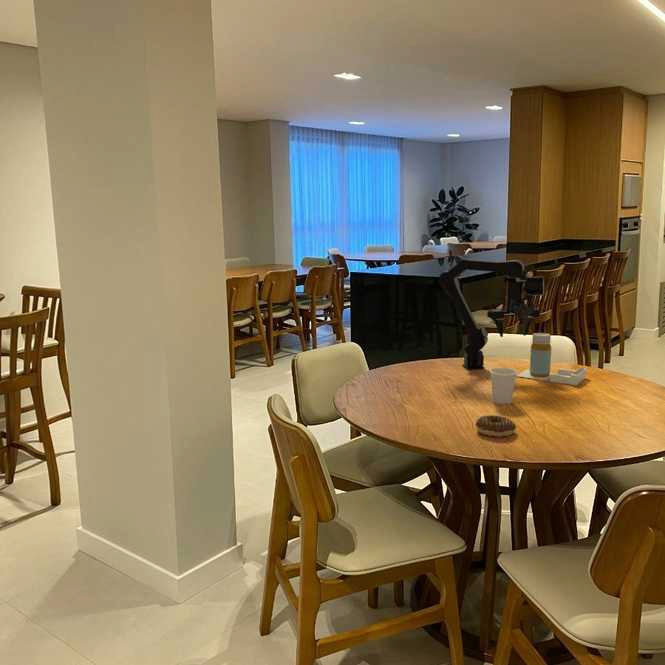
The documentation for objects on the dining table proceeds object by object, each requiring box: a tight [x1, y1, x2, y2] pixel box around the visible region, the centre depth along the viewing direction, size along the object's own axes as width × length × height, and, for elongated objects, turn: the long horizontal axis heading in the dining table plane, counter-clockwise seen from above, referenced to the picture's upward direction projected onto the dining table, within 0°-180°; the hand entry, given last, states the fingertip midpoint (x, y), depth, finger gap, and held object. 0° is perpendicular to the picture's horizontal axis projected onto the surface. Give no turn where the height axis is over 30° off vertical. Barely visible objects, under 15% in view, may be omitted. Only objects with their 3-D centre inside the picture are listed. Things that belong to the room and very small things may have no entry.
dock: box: [549, 367, 587, 386], centre depth 232 cm, size 9×12×4 cm
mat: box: [516, 369, 557, 382], centre depth 238 cm, size 11×11×1 cm
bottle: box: [529, 332, 552, 377], centre depth 236 cm, size 7×7×15 cm
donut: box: [475, 414, 517, 438], centre depth 179 cm, size 11×11×4 cm
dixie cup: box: [489, 367, 518, 405], centre depth 206 cm, size 8×8×10 cm
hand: (513, 336), depth 245 cm, fingers open, 9 cm apart
